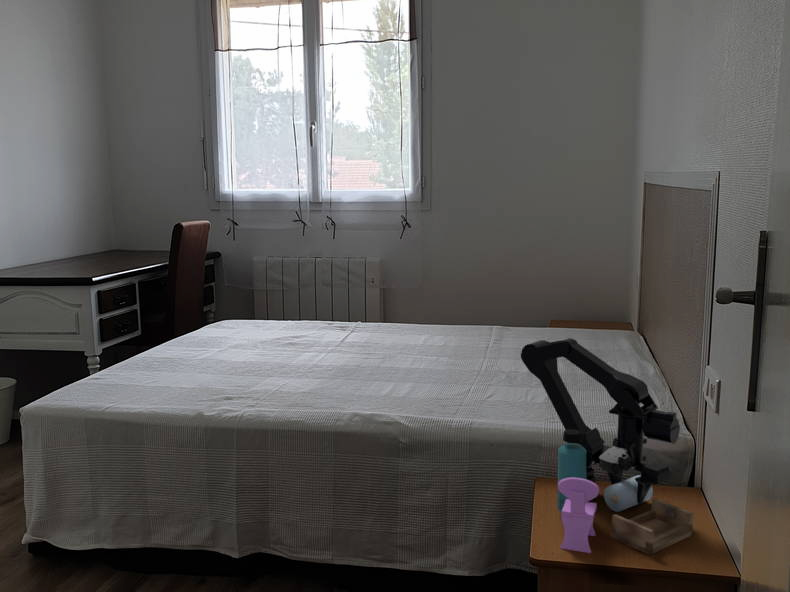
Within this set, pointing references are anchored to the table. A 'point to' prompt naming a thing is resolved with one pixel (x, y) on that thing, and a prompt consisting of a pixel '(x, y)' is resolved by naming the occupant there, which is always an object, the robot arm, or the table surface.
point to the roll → (624, 494)
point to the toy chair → (578, 512)
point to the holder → (653, 527)
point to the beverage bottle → (571, 460)
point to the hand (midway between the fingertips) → (628, 498)
